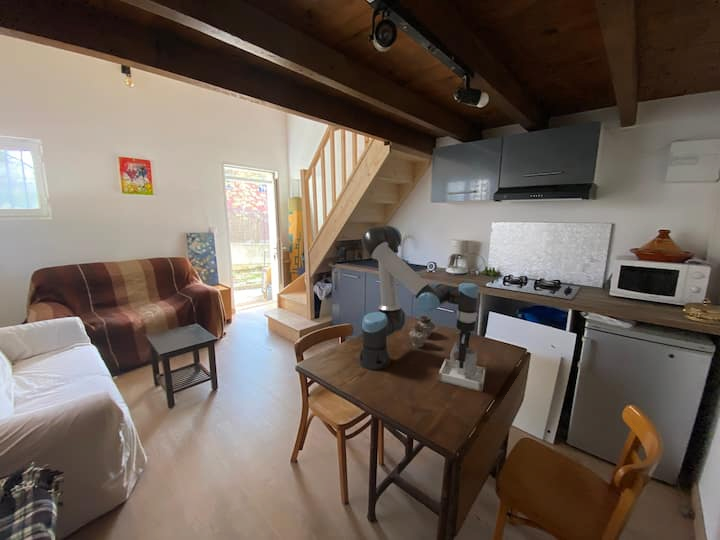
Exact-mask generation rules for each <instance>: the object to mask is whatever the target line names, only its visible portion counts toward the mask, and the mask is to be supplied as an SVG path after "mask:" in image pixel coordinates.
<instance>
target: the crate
mask: <svg viewBox="0 0 720 540" xmlns="http://www.w3.org/2000/svg"><path fill="white" fill-rule="evenodd" d="M476 368H477V372H476V374H475V375H474V376H465V375H461V374H458V363H456V364H454V365H453V364H452V362H451V360H450V359H448V358H444V360H443V363H442V364H441V368H440V369H439V371H438V375H437V377H438V379H437V380H438V381H439V382H442V383H445V384H446V383H447V384H450V385H454V386H457V387H461V388H465V389H469V390H473V391H477V392H481V393H483V389H484V384H485V377H486V367H484V366H478V365H476Z"/></svg>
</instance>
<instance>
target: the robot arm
mask: <svg viewBox="0 0 720 540" xmlns="http://www.w3.org/2000/svg"><path fill="white" fill-rule="evenodd" d="M402 240H403V236H402V234H401V231H400V230H399V229H398V227H396V226H393V225H380V226H379V225H378V226H370V227H369V228H366V230H365V231H364V232H363V234H362V237H361V246H363V248H364V250H365V252H366V254H367V255H369V256H370V257H371V259H373V260H376V261H378V273H379V275H378V277H379V288H380V290H379V291H380V300H381V304H380V305H379V306H378V311H374V312H373V311H372V312H369V313H367V314H365V315H364V316H363V318H362V324H361V327H362V330H361V331H362V336H361V337H362V347H361V349H360V353H359V355H358V363H359V365H360V366H362V367H363V368H365V369H368V370H381V369H386V368H387V367H388V366H389V365H390V364H391V356H390V353H389V350H388V337H390V336H392V335H393V334H396V333H398V332H400V331H401V330H402V329H403V328H405V326H406V323H407V313H406V312H405V311H404V309H403V307H402V304H400V303H399V293H398V291H399V290H398V289H399V288H398V282H399V283H401V285H402V286H403V287H405V289H407V290H408V292H410V293H411V294H412V295H413V296H414V297H415V298H416V299H417V301H416V302H417V306H418V308H419V309H420V310H421V311H423V312H426V313H429V312H433V311H435V310H437V309H438V308H439V307H442V306H443V305H445V304H451V305H456V306H457V312H456V326H455V327H456V329H458V330H459V331H460V333H459V343H458V346H459V351H458V357H457V358H456V360H458V374H461V375H464V374H465V361H466V360H465V356H466V348H470V339H471V334H472V333H471V332H474V331H475V330H476V326H477V325H476V323H477V322H476V320H477V317H478V316H479V313H477V312H478V303H479V302H478V301H479V286H478V285H477V284H475V283H471V282H462V283H460V284H459V286H454V285H449V284H444V283H436V282H435V283H433V284H432V286H431V285H429V284H428V282H426V281H425V279H423V278H422V277H421V276H420V275H419V274H418V273H417V272H416V271H415V270H414V269H413V268H412V267H410V266H409V265H408V264H407V263H406V262H405V260H403V259H402V258H401V257H400V256H399V255H398V254H399V247H400V246H401V244H402Z"/></svg>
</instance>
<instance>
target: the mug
mask: <svg viewBox="0 0 720 540" xmlns="http://www.w3.org/2000/svg"><path fill="white" fill-rule="evenodd" d="M457 352H459V343H458V342H457V341H455V342H454V345H453V347H452V350H451V352H450V354H449V356H450V358H449V360H451V362H452V364H453V365H454V364H456V363H458V360H457V358H456V356H455V355H456V354H455V353H457ZM477 356H478V352H477V350H475V349H474V348H471V347H469V348H466V356H465V360H466V361H465V374H464V375H465V376H474V375H475V374H476V372H477V368H476V366H477V362H478V358H477Z"/></svg>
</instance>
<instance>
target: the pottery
mask: <svg viewBox="0 0 720 540" xmlns="http://www.w3.org/2000/svg"><path fill="white" fill-rule="evenodd" d="M431 320H432V319H431V317H430V316H429V315H423V316H422V315H421V316H420V317H419V321H417V322H415V323H413V328H414V329H412V330H411V331H409V333H408V335H409V338H410V342H412V346H414V348H415V347H416V348H422V347H424V343H425V342H426V341H427V340H428V338H429V336H430V335H431V334H432V333H433V332H434V331H435V327H436V324H434V323H433V322H431Z"/></svg>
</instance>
